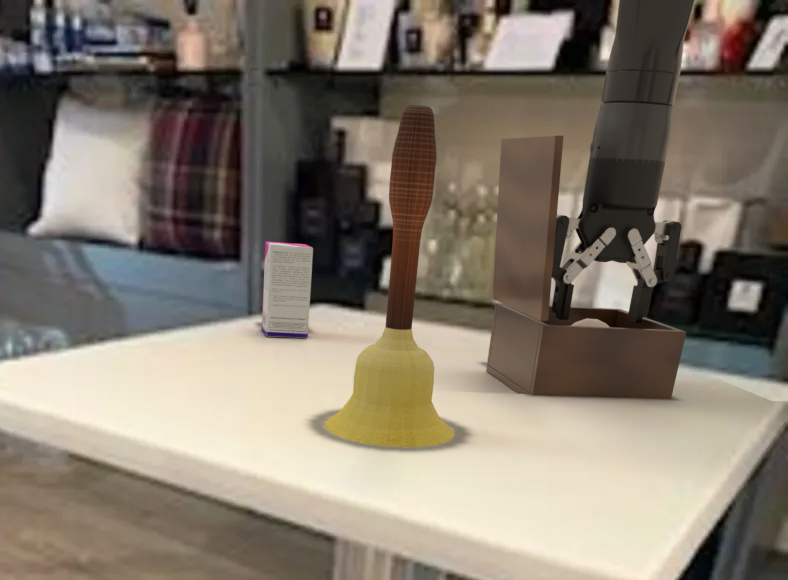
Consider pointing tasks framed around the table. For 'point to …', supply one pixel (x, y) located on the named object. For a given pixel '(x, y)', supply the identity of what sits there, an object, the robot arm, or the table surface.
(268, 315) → the supplement box
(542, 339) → the brown open box
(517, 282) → the lid
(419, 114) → the handbell
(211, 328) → the table surface
